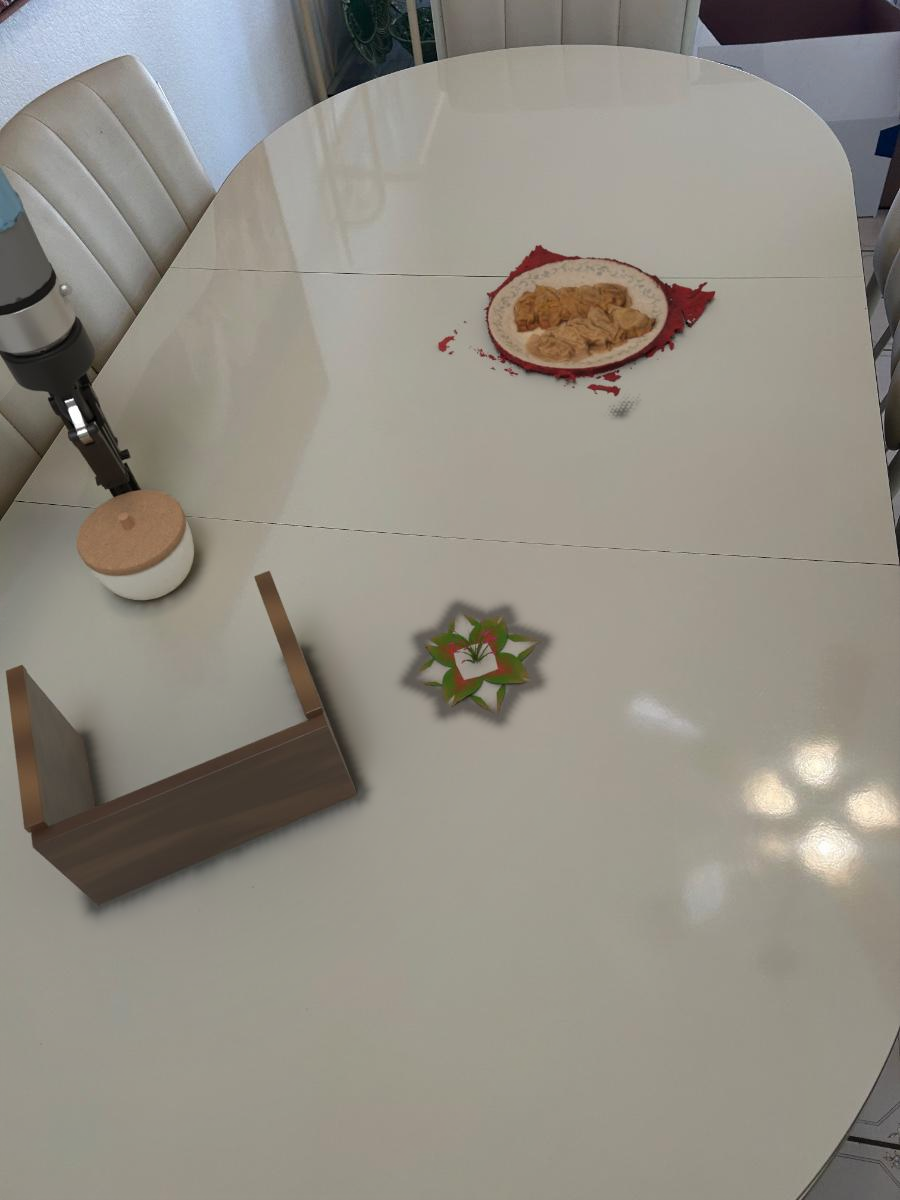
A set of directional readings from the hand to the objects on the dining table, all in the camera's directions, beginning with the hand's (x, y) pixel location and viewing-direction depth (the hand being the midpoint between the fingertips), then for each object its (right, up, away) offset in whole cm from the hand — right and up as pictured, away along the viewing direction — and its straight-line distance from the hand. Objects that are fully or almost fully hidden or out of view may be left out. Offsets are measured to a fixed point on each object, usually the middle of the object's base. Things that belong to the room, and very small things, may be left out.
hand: (138, 514), depth 101 cm
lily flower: (+36, -15, -15) cm, 42 cm away
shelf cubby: (+12, -24, -18) cm, 33 cm away
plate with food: (+49, +24, +15) cm, 57 cm away
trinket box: (+3, -7, -3) cm, 8 cm away
